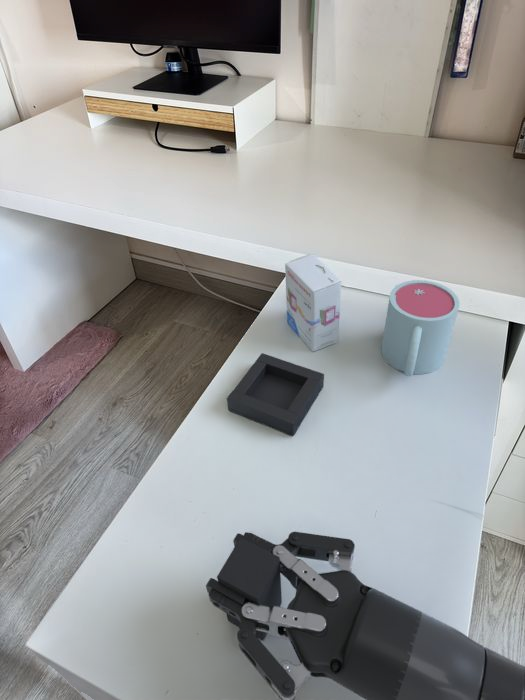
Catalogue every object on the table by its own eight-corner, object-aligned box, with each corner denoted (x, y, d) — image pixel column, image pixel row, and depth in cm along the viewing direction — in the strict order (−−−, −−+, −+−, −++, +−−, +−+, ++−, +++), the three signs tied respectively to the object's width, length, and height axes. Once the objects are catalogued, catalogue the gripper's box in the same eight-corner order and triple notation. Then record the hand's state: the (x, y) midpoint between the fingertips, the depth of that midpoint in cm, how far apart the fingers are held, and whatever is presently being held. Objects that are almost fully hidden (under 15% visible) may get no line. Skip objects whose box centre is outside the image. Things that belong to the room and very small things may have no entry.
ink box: (284, 322, 83) (283, 260, 75) (310, 312, 84) (312, 251, 76) (312, 353, 77) (313, 290, 69) (339, 342, 78) (344, 279, 70)
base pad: (293, 436, 66) (293, 424, 64) (228, 410, 69) (226, 398, 67) (323, 386, 72) (324, 373, 70) (262, 365, 75) (261, 352, 74)
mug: (387, 327, 80) (395, 275, 74) (447, 339, 78) (462, 286, 71) (369, 387, 71) (377, 334, 64) (437, 403, 69) (453, 349, 62)
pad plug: (263, 641, 48) (257, 599, 41) (227, 620, 49) (216, 577, 43) (282, 602, 50) (280, 556, 44) (247, 583, 52) (240, 536, 45)
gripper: (442, 560, 41) (258, 478, 47) (386, 756, 32) (168, 622, 38) (426, 597, 46) (261, 518, 53) (374, 775, 37) (183, 654, 44)
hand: (223, 563), depth 45 cm, fingers closed on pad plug, 4 cm apart
